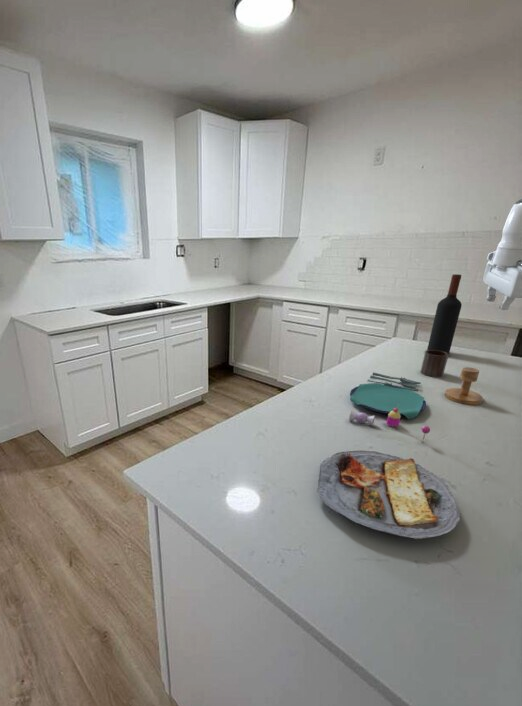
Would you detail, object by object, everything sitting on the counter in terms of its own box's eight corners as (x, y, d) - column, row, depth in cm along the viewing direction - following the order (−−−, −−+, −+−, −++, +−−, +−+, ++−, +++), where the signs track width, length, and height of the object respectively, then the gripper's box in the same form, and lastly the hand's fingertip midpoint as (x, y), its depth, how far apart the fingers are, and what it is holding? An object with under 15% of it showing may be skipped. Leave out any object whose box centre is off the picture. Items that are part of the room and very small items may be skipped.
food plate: (322, 449, 85) (323, 437, 83) (437, 469, 77) (441, 455, 75) (312, 525, 64) (314, 510, 62) (469, 564, 55) (476, 547, 54)
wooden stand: (476, 393, 109) (485, 366, 106) (485, 406, 102) (495, 377, 98) (441, 390, 112) (449, 362, 109) (448, 402, 105) (456, 373, 101)
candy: (346, 426, 94) (349, 405, 92) (353, 413, 100) (356, 393, 98) (426, 445, 85) (432, 422, 83) (428, 430, 91) (434, 408, 89)
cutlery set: (340, 408, 104) (341, 400, 103) (366, 374, 125) (367, 368, 125) (419, 427, 93) (421, 419, 92) (433, 387, 114) (435, 380, 113)
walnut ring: (440, 371, 127) (446, 350, 124) (444, 378, 121) (450, 356, 118) (419, 369, 129) (423, 349, 126) (422, 375, 123) (427, 354, 120)
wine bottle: (423, 353, 144) (441, 275, 132) (430, 348, 149) (448, 273, 137) (445, 357, 139) (466, 276, 127) (451, 352, 144) (472, 274, 132)
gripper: (545, 264, 95) (525, 315, 102) (509, 252, 113) (494, 297, 119) (516, 264, 97) (499, 314, 104) (486, 253, 114) (472, 296, 121)
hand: (496, 305), depth 111 cm, fingers open, 8 cm apart
